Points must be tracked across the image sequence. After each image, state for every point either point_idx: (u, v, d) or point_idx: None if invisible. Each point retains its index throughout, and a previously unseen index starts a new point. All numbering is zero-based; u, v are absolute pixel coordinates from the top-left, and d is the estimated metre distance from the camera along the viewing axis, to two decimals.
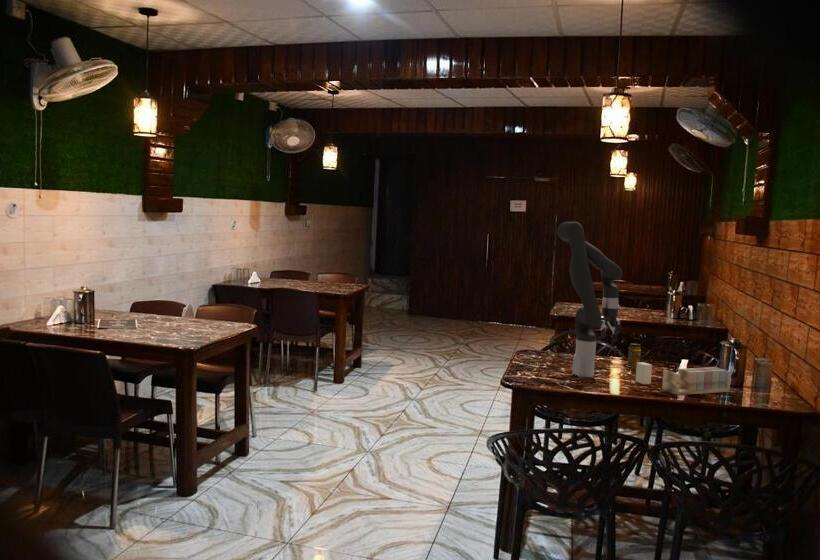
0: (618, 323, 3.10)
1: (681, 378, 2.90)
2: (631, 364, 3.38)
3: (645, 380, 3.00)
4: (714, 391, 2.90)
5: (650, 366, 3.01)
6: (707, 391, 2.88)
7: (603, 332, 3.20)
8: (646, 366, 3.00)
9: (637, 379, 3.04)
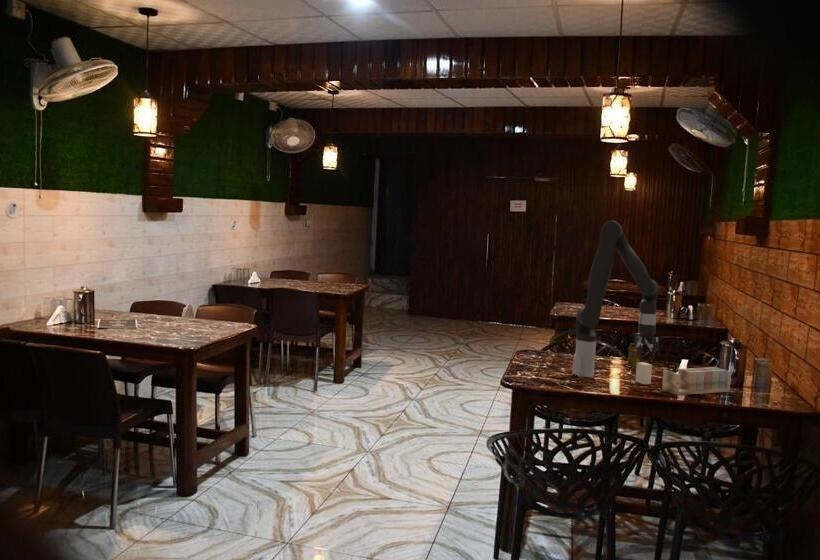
0: (656, 340, 2.96)
1: (681, 378, 2.90)
2: (631, 364, 3.38)
3: (645, 380, 3.00)
4: (714, 391, 2.90)
5: (650, 366, 3.01)
6: (707, 391, 2.88)
7: (639, 349, 3.06)
8: (646, 366, 3.00)
9: (637, 379, 3.04)
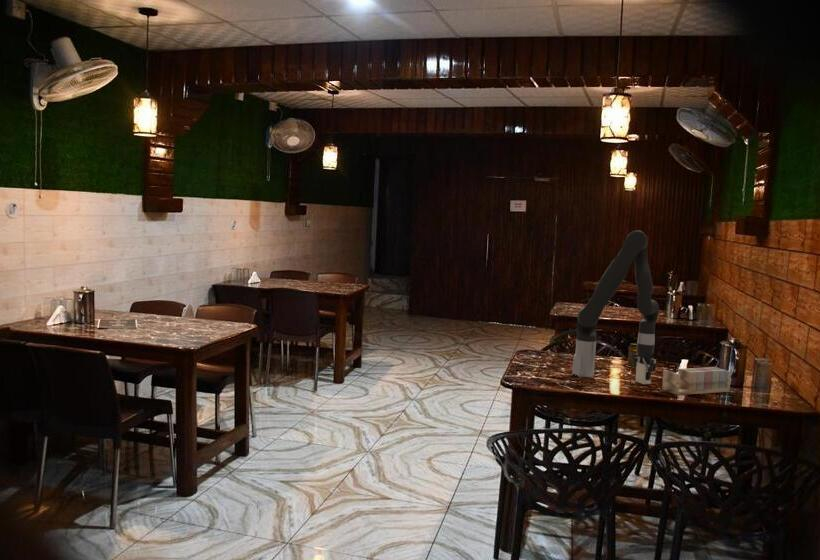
0: (654, 362, 2.97)
1: (681, 378, 2.90)
2: (631, 364, 3.38)
3: (645, 380, 3.01)
4: (714, 391, 2.90)
5: None
6: (707, 391, 2.88)
7: None
8: None
9: (637, 379, 3.04)
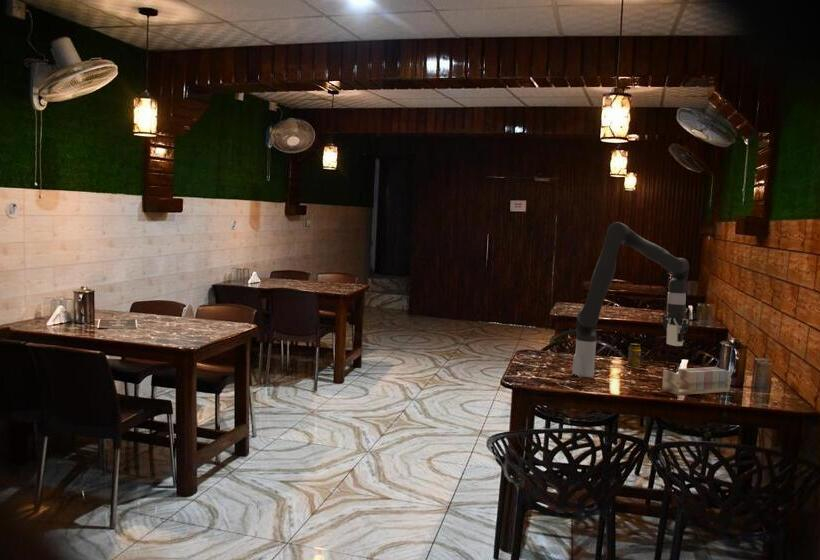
0: (686, 322, 2.83)
1: (681, 378, 2.90)
2: (631, 364, 3.38)
3: (677, 342, 2.87)
4: (714, 391, 2.90)
5: None
6: (707, 391, 2.88)
7: None
8: None
9: (668, 341, 2.91)
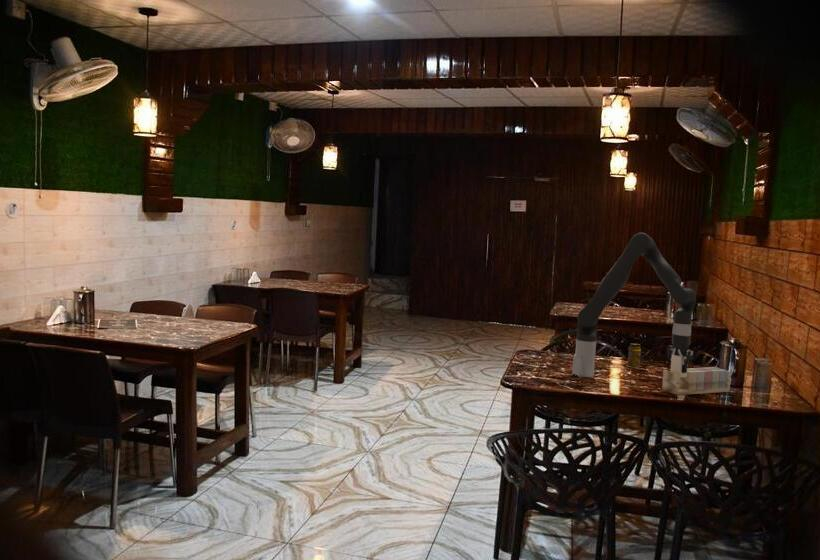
0: (691, 354, 2.81)
1: (681, 378, 2.90)
2: (631, 364, 3.38)
3: (681, 373, 2.84)
4: (714, 391, 2.90)
5: None
6: (707, 391, 2.88)
7: None
8: None
9: None
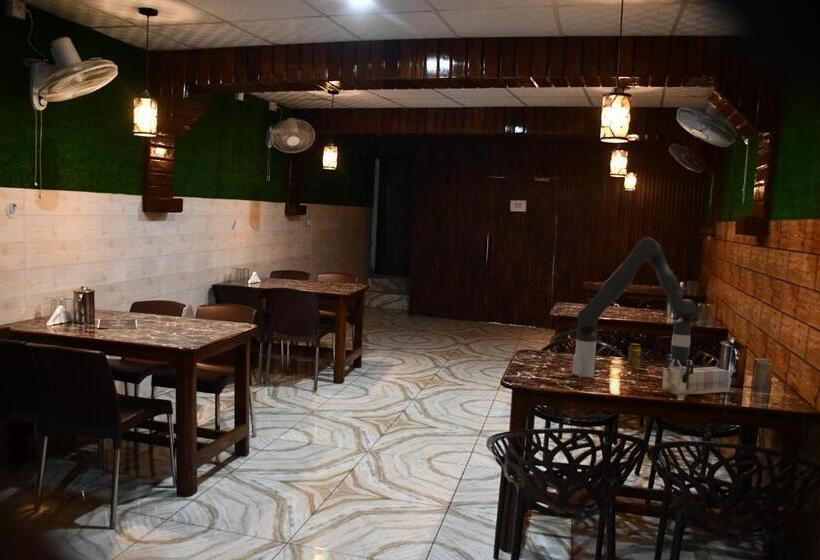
0: (690, 363, 2.81)
1: None
2: (631, 364, 3.38)
3: None
4: (714, 391, 2.90)
5: None
6: (707, 391, 2.88)
7: None
8: (681, 371, 2.84)
9: None
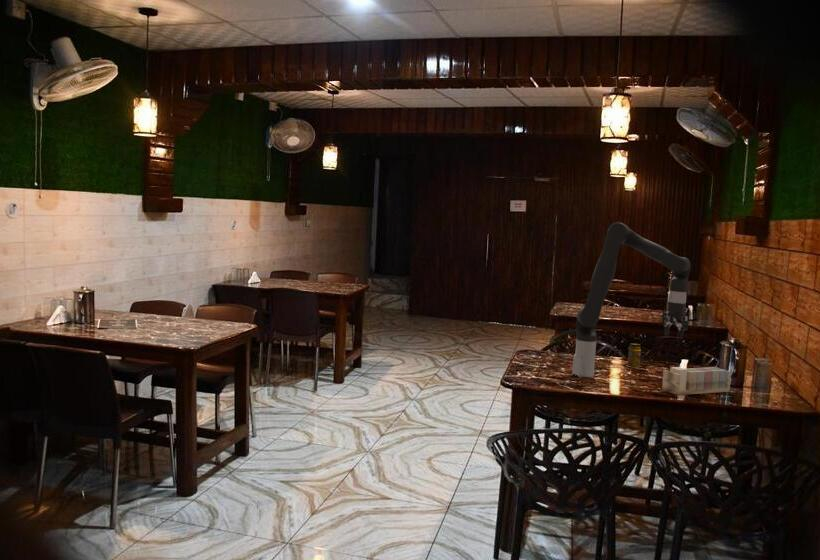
0: (685, 319, 2.85)
1: None
2: (631, 364, 3.38)
3: None
4: (714, 391, 2.90)
5: (685, 371, 2.85)
6: (707, 391, 2.88)
7: (667, 329, 2.95)
8: (681, 371, 2.84)
9: None
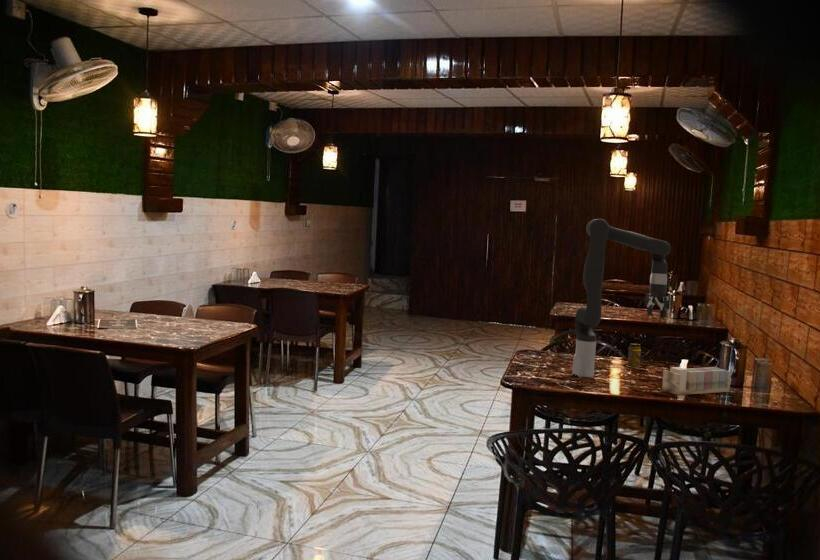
0: (667, 299, 3.03)
1: None
2: (631, 364, 3.38)
3: None
4: (714, 391, 2.90)
5: (685, 371, 2.85)
6: (707, 391, 2.88)
7: (650, 309, 3.14)
8: (681, 371, 2.84)
9: None
